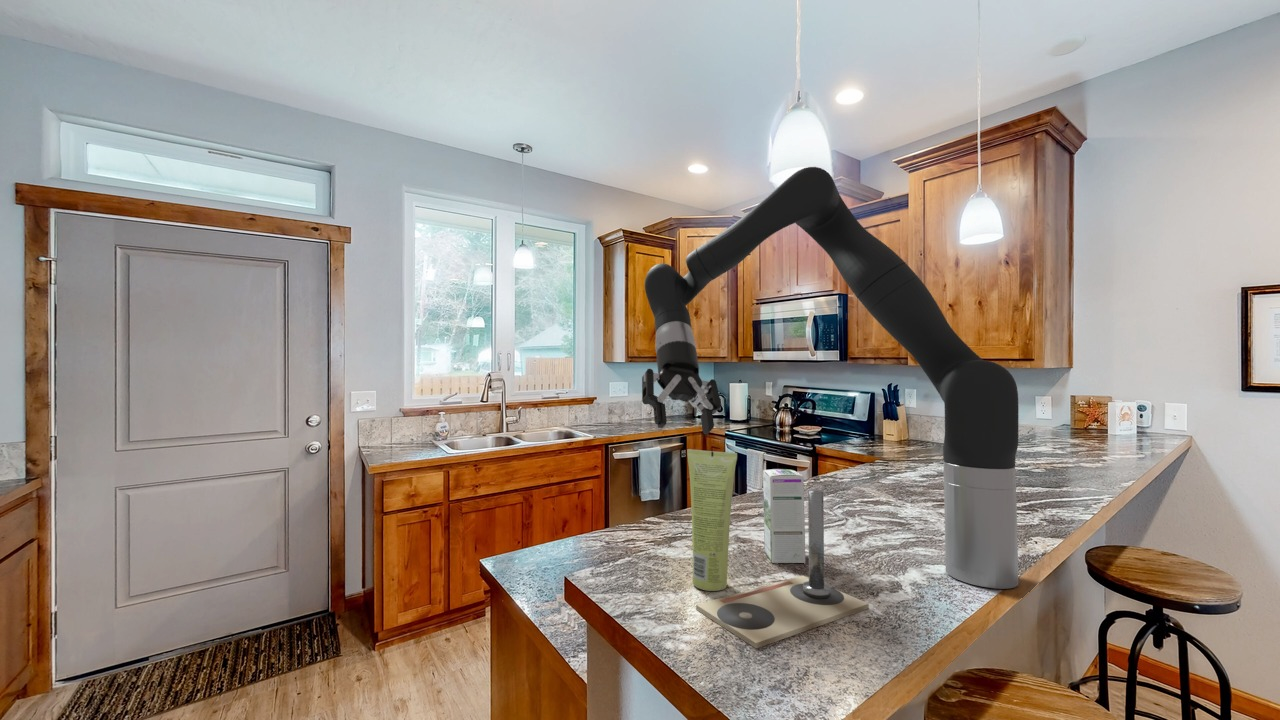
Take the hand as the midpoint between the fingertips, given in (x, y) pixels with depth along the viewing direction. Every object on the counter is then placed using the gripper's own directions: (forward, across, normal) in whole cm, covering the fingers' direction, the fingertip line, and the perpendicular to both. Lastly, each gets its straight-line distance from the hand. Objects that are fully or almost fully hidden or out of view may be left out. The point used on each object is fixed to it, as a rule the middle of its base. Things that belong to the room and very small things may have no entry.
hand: (685, 429), depth 84 cm
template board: (+29, +7, -7) cm, 30 cm away
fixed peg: (+27, +14, -6) cm, 31 cm away
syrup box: (+19, +19, +6) cm, 28 cm away
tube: (+24, +2, +2) cm, 25 cm away
